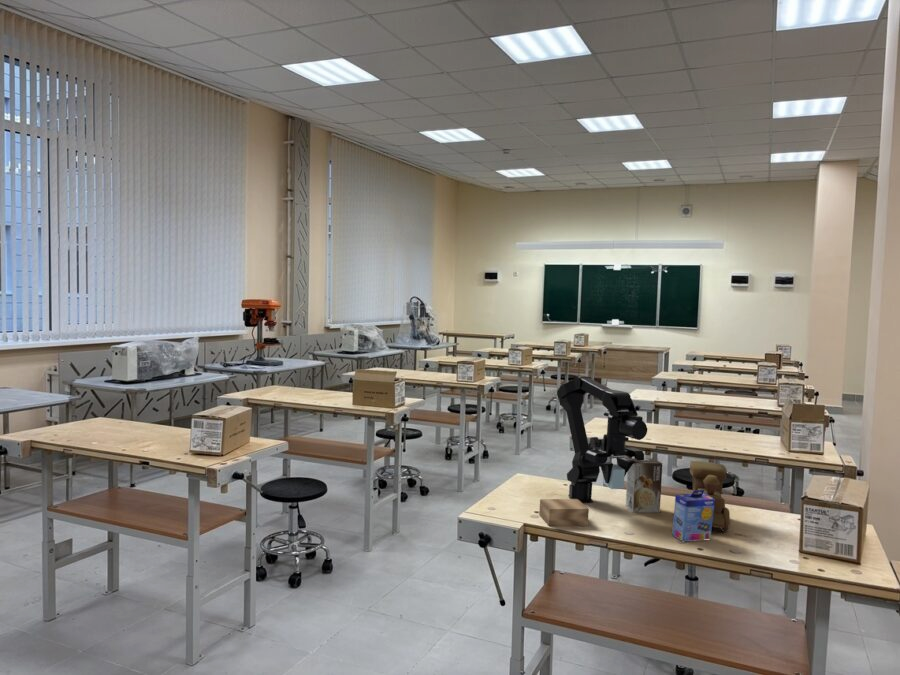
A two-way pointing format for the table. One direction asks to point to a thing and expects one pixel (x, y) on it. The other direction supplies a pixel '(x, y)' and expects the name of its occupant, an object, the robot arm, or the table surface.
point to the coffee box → (644, 486)
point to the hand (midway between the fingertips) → (613, 482)
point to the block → (616, 478)
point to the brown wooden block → (563, 512)
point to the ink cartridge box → (693, 516)
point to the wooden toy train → (712, 488)
